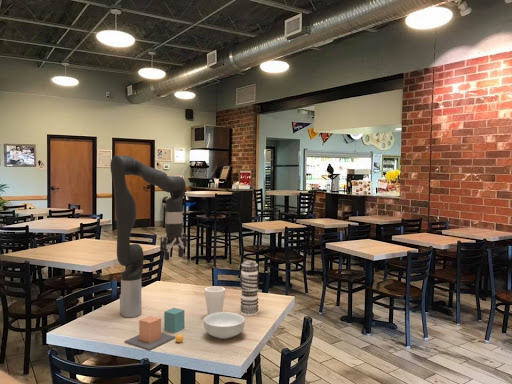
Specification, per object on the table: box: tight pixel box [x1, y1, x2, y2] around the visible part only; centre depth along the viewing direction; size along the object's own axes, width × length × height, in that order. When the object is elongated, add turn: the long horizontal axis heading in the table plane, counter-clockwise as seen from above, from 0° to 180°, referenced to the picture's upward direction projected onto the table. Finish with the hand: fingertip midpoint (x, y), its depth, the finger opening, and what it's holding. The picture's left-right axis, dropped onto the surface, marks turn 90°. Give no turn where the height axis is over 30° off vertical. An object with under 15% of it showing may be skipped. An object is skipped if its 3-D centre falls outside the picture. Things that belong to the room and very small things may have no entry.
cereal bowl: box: [203, 311, 246, 340], centre depth 169 cm, size 17×17×7 cm
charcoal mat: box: [123, 332, 176, 351], centre depth 164 cm, size 14×14×1 cm
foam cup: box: [204, 285, 226, 316], centre depth 192 cm, size 10×9×13 cm
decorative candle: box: [239, 259, 260, 317], centre depth 197 cm, size 9×9×25 cm
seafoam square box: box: [163, 307, 185, 334], centre depth 176 cm, size 6×6×8 cm
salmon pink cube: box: [138, 315, 162, 343], centre depth 164 cm, size 6×6×8 cm
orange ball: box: [175, 333, 184, 343], centre depth 162 cm, size 3×3×3 cm
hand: (173, 258), depth 180 cm, fingers open, 8 cm apart
